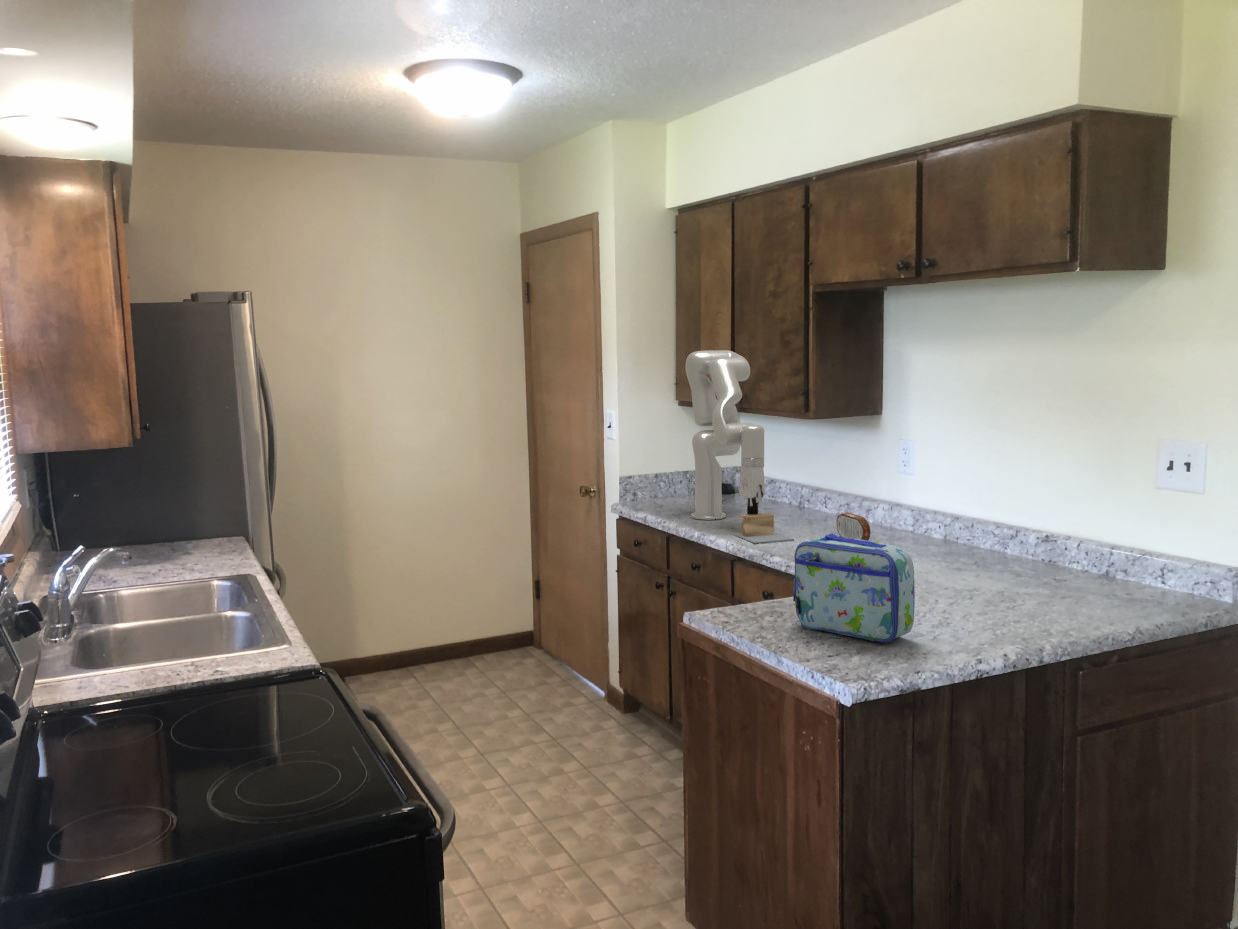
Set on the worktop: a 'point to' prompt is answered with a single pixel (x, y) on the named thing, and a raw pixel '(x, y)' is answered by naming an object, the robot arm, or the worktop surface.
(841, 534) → the tin
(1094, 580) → the worktop surface
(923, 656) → the worktop surface
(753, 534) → the block
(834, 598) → the lunch box
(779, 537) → the mat
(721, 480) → the robot arm
